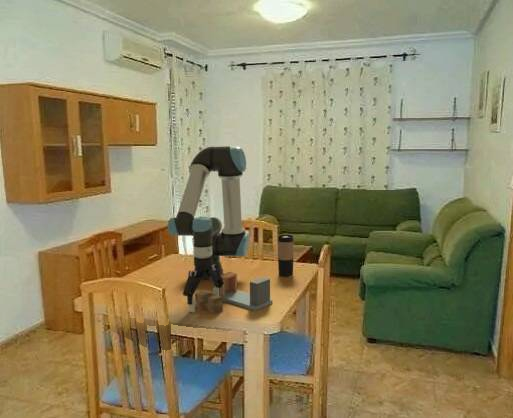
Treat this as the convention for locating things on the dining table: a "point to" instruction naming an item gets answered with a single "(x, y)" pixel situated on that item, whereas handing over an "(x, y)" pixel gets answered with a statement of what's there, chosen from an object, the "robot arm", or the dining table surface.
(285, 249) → the travel mug
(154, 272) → the dining table surface
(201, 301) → the brown block
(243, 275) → the dining table surface
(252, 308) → the board
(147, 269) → the dining table surface
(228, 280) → the block
